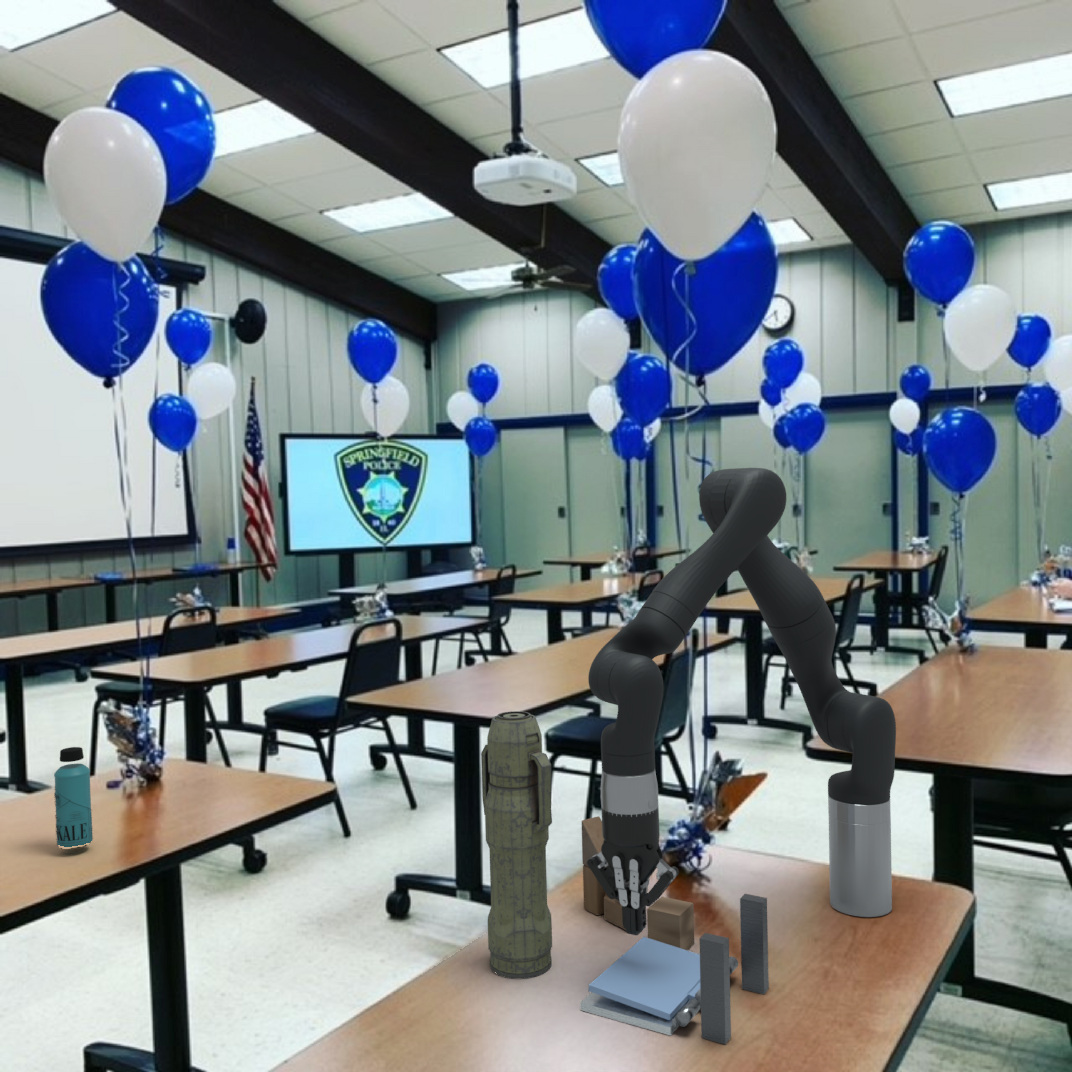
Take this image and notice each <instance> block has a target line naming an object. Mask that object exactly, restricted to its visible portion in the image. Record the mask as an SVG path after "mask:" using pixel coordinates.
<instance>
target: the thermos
mask: <svg viewBox="0 0 1072 1072" xmlns="http://www.w3.org/2000/svg"><path fill="white" fill-rule="evenodd" d="M486 742H487V743H486V744H484V747H483V749H482V750H481V753H480V755H481V758H480V759H481V760H480V761H481V788H482V790H481V791H482V792H481V793H482V794H481V795H482V805H483V812H484V813H483V814H484V822H485V829H484V830H485V842H486V844H487V847H488V848H489V872H490V873H489V876H490V878H489V880H490V883H489V884H490V909H489V913H488V916H487V943H488V949H487V950H489V954H490V958H489V959H490V960H489V968H490V967H491V968H490V970H491V969H492V970H493V971H494V972H496V973H497V974H498V976H500V975H502V976H501V977H503V976H505V977H504V978H506V977H509V978H508V979H513V978H526V979H530V978H535V977H539V976H541V975H544V974H545V973H546V972H548V971H549V970H550V968H551V967H552V952H551V950H552V949H553V936H552V935H553V931H552V930H553V927H552V926H553V925H552V920H553V919H552V913H551V911H550V909H549V906H548V886H547V883H548V882H547V854H546V853H547V852H546V851H547V850H546V847H547V844H548V841H549V839H550V837H549V835H550V830H549V827H550V826H551V825H552V824H553V818H552V816H553V814H552V763H551V761H550V759H549V757H548V755H547V753H545V752H543V739H542V730H541V728H540V725H539V723H538V720H537V717H536V715H534V714H531V713H530V712H526V711H519V710H513V711H504V712H501V713H498V714H497V715H496V716H494V717H492V718H491V723H490V726H489V730H488V734H487V739H486ZM492 970H491V971H492ZM493 971H492V972H493ZM494 972H493V973H494ZM496 973H495V974H496ZM497 974H496V975H497Z"/></svg>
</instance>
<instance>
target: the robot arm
mask: <svg viewBox="0 0 1072 1072" xmlns="http://www.w3.org/2000/svg"><path fill="white" fill-rule="evenodd" d="M698 496H699V497H698V499H699V500H698V501H699V507H700V510H701V514H702V516H703V518H704V521H705V522H706V525H707V526H708V527H709V529H710V531H711V532H712V534H711V536H709V538H707V540H706V541H705V542H703V543H702V545H700V546H699V547H698V548H697V549H696V550H694V551H693V552H692V553H691V554H689V555H688V556H687V557H685V558H684V559H683V560H682V561H680V562H679V563H678V564H677V565H676V566H674V567H673V568H672V569H671V570H670V571H668V573H666V574H665V575H664V577H662V579H660V581H659V582H658V583H657V585H656V586H655V587H654V588H653V590H652V592H651V593H650V594H649V596H648V597H647V598H646V600H645V602H643V603H644V604H642V606H641V607H640V609H639V611H638V612H637V614H636V615H635V617H634V618H633V619H632V620H631V621H629V622H628V624H625V626H624V627H622V628H621V629H620V630H619V631H618V632H617V633H616V634H615V635H614V636H613V637H612V638H611V639H609V641H607V642H606V643H605V644H604V645H603V647H602V648H601V649H600V650H599V651H598V652H597V654H596V655H595V657H594V659H593V661H592V663H591V665H590V668H589V670H588V678H587V679H588V686H589V690H590V691H591V693H592V695H594V697H595V698H597V699H599V700H600V701H602V702H605V703H608V704H612V705H616V706H617V715H616V721H615V722H612V723H610V724H608V725H606V726H605V727H604V728H603V730H602V732H601V736H600V753H601V754H600V755H601V756H600V757H601V780H600V795H599V796H600V805H601V808H600V809H601V821H602V835H603V838H604V842H603V844H602V846H601V852H600V853H597V854H596V855H594V856H592V857H591V858H590V859H589V860H588V861H587V864H588V866H589V868H590V869H591V871H592V872H593V874H594V875H595V877H596V879H597V880H598V882H599V883H600V885H601V886H602V888H603V889H604V891H605V892H606V894H607V895H608V897H609V898H610V899H614V898H615V899H616V900H618V901H619V902H620V904H621V905H622V922H623V927H624V928H625V929H626V930H625V932H626V934H629V935H631V936H632V935H633V936H639V935H640V934H641V933H642V932H643V931H644V930H645V928H646V927H647V907H650V906H651V905H652V904H653V903H655V902H656V901H657V900H658V899H660V898H661V897H662V895H663V894H664V893H665V891H666V890H667V889H668V887H670V885H671V884H672V883H673V881H674V880H675V879H676V877H678V875H679V873H680V870H679V868H678V867H676V866H670V865H669V864H668V863H667V862H666V861H665V860H664V855H663V851H662V849H661V846H660V813H659V812H660V810H659V787H658V786H659V784H658V780H657V775H656V773H657V772H656V758H655V757H656V754H655V753H656V750H655V736H656V731H657V728H658V725H659V719H660V714H661V707H662V703H663V698H664V679H663V675H662V671H661V669H660V668H659V666H658V664H657V663H656V662H655V661H654V658H656V657H659V656H662V655H667V654H671V653H673V652H675V651H676V650H677V649H678V648H679V647H680V645H681V644H682V642H683V641H684V639H685V638H686V637H687V635H688V634H689V632H690V630H691V629H692V627H693V626H694V625H695V623H696V621H697V620H698V618H699V616H700V615H701V613H702V612H703V611H704V609H705V608H706V606H707V604H708V603H709V602H710V601H711V599H712V598H713V597H714V595H715V594H716V593H717V592H718V590H719V589H720V588H721V587H722V586H723V584H724V583H725V582H726V581H727V580H728V579H729V578H730V576H731V575H732V574H733V573H734V572H735V571H736V570H737V571H738V573H739V575H740V577H741V579H742V580H743V582H744V585H745V586H746V588H747V589H748V591H749V593H750V595H751V596H752V599H753V600H754V602H755V604H756V605H757V608H758V610H759V612H760V614H761V616H762V619H763V621H764V622H765V624H766V626H767V628H768V630H769V632H770V634H771V636H772V638H773V639H774V641H775V643H776V645H777V647H778V648H779V651H781V653H782V655H783V658H784V659H785V662H786V663H787V665H788V667H789V670H790V672H791V674H792V676H793V678H794V679H795V681H796V684H797V685H798V688H799V691H800V693H801V696H802V698H803V700H804V703H805V704H804V705H806V708H807V711H808V714H809V717H810V720H811V721H812V724H813V726H814V729H815V731H816V733H817V736H819V738H820V740H822V742H823V743H824V744H826V745H827V746H829V747H830V748H833V749H835V750H839V751H843V752H846V753H850V754H852V759H851V760H852V761H851V767H850V770H844V771H839V772H836V773H833V774H832V775H831V776H829V778H828V780H827V801H828V803H827V804H828V805H827V809H828V813H827V814H828V849H829V850H828V857H829V858H828V859H829V905H830V906H831V907H832V908H833V909H834V910H836V911H838V912H840V913H843V914H844V915H845V914H846V915H849V916H854V917H862V918H873V917H874V918H875V917H882V916H885V915H888V914H889V913H890V912H891V911H892V910H893V899H892V898H893V896H892V895H893V893H892V892H893V891H892V890H893V888H892V885H893V884H892V880H893V878H892V877H893V876H892V874H893V873H892V871H893V869H892V827H891V826H892V820H891V818H892V817H891V816H892V815H891V789H892V785H893V782H894V777H895V765H896V763H895V761H896V745H897V744H896V742H897V741H896V739H897V727H896V725H897V723H896V717H895V712H894V710H893V708H892V705H891V704H890V703H889V702H888V701H887V700H886V699H884V698H882V697H879V696H876V695H875V696H873V695H869V694H862V693H858V692H857V693H856V692H852V691H849V690H847V688H846V687H845V686H844V685H843V684H842V681H840V679H839V676H838V675H837V673H836V671H835V668H834V665H833V662H832V658H833V653H834V649H835V648H834V647H835V643H836V636H837V629H836V622H835V619H834V616H833V614H832V612H831V610H830V608H829V607H828V604H827V602H826V600H825V597H823V594H822V592H821V590H820V589H819V587H818V586H817V584H816V583H815V582H814V581H813V580H812V578H811V577H810V576H809V575H808V574H807V573H806V572H805V571H803V569H801V568H800V567H799V565H797V564H796V563H795V562H794V561H793V560H791V559H790V558H789V557H788V556H787V555H785V554H784V553H783V552H782V551H781V550H780V549H779V548H778V547H777V546H776V544H774V542H773V541H772V539H770V537H769V535H770V533H771V532H772V531H773V529H774V528H775V527H776V526H777V524H778V523H779V521H780V520H781V519H782V516H783V514H784V512H785V510H786V505H787V491H786V487H785V484H784V482H783V480H782V478H781V477H780V476H779V475H778V474H777V473H776V472H774V471H773V470H771V469H768V468H761V467H742V468H740V467H737V468H723V469H718V470H715V471H713V472H710V473H709V474H708V475H706V476H705V478H704V479H703V481H702V482H701V484H700V488H699V494H698ZM656 870H657V872H656V874H655V875H656V879H657V881H656V883H655V884H654V885H653V886H652V888H651V889H650V890H649V889H648V888H649V885H650V878H651V876H652V875H653V874H654V872H655V871H656ZM648 890H649V891H648Z"/></svg>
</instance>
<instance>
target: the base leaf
mask: <svg viewBox="0 0 1072 1072" xmlns="http://www.w3.org/2000/svg"><path fill="white" fill-rule="evenodd" d="M739 907H740V908H739V912H740V913H739V915H740V918H739V919H740V955H741V956H740V957H741V958H740V961H741V968H740V969H741V990H744V991H748V992H752V993H756V994H760V995H765V994H766V993H767V992H768V990H769V989H770V987H769V984H770V983H769V981H770V980H769V979H770V977H769V932H768V929H769V928H768V897H765V896H759V895H753V894H749V893H748V894H747V893H744V894H743V895H742V896H741V897H740V898H739ZM698 940H699V942H698V943H699V954H700V988H701V1004H700V1003H699V1001H698V1000H696V999H690V1000H688V1001H687V1002H686V1003H685V1004H684V1005H683V1006H682V1008H681V1009H680V1010H679V1011H678V1012H677V1013H676V1014H675V1015H674V1016H673V1017H672V1018H671V1020H667V1019H664V1018H661V1017H659V1016H656V1015H653V1014H650V1013H648V1012H645V1011H642V1010H639V1009H637V1008H634V1007H631V1006H628V1005H626V1004H623V1003H620V1002H617V1001H615V1000H612V999H609V998H606V997H604V996H601V995H598V994H595V993H593V992H590V993H589V994H588V995H587V996H586V997H584V999H582V1000H581V1001H580V1002H579V1005H580V1007H579V1008H580V1009H579V1010H580V1011H582V1012H586V1013H590V1014H593V1015H597V1016H600V1017H603V1018H607V1019H611V1020H614V1021H617V1022H620V1023H624V1024H627V1025H628V1024H629V1025H631V1026H635V1027H639V1028H642V1029H646V1030H650V1031H653V1032H656V1033H661V1034H664V1035H666V1036H670V1037H671V1036H672V1035H673V1033H675V1032H676V1030H677V1029H679V1027H686V1026H687V1025H688V1024H689V1023H690V1022H691V1020H693V1018H694V1017H695V1016H696V1015H697V1014H698V1013H699V1011H700V1027H701V1028H700V1029H701V1032H700V1033H701V1038H702V1039H704V1040H708V1041H710V1042H713V1043H717V1044H718V1043H719V1044H722V1045H727V1043H728V1042H729V1041H730V1039H731V1038H732V1023H731V1022H732V1021H731V1020H732V1019H731V1017H732V1016H731V974H732V973H734V972H735V970H736V969H737V968H738V967H739V961H738V959H737V958H736V957H735V956H733V955H731V956H730V937H727V936H721V935H717V934H713V933H708V932H704V933H703V935H701V937H699V939H698Z"/></svg>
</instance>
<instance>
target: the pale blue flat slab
mask: <svg viewBox="0 0 1072 1072" xmlns="http://www.w3.org/2000/svg"><path fill="white" fill-rule="evenodd" d="M588 992H590V993H591V992H593V993H595V994H598V995H601V996H604V997H606V998H609V999H612V1000H615V1001H617V1002H620V1003H623V1004H626V1005H628V1006H631V1007H634V1008H637V1009H639V1010H642V1011H645V1012H648V1013H650V1014H653V1015H656V1016H659V1017H661V1018H664V1019H667V1020H671V1018H672V1017H673V1016H674V1015H675V1014H676V1013H677V1012H678V1011H679V1010H680V1009H681V1008H682V1006H683V1005H684V1004H685V1003H686V1002H687V1001H688V1000H690V999H696V1000H698V1001H699V1003H700V1005H701V988H700V953H696V952H693V951H690V950H688V951H687V950H684V949H681V948H678V947H675V946H672V945H669V944H665V943H662V942H659V941H656V940H653V939H650V938H648V936H647V937H646V936H643V937H641V938H640V940H638V941H637V942H635V944H634V945H633V946H632V947H631V948H629V949H628V950H627V951H626V952H624V954H622V955H621V956H620V957H619V958H618V959H617V960H616V961H615V962H613V963H612V964H610V966H608V968H607V969H605V970H603V972H602V973H601V974H600V975H598V976H597V977H596V978H595V979H594V980H593V981H592V982H590V983H589V984H588Z"/></svg>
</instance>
